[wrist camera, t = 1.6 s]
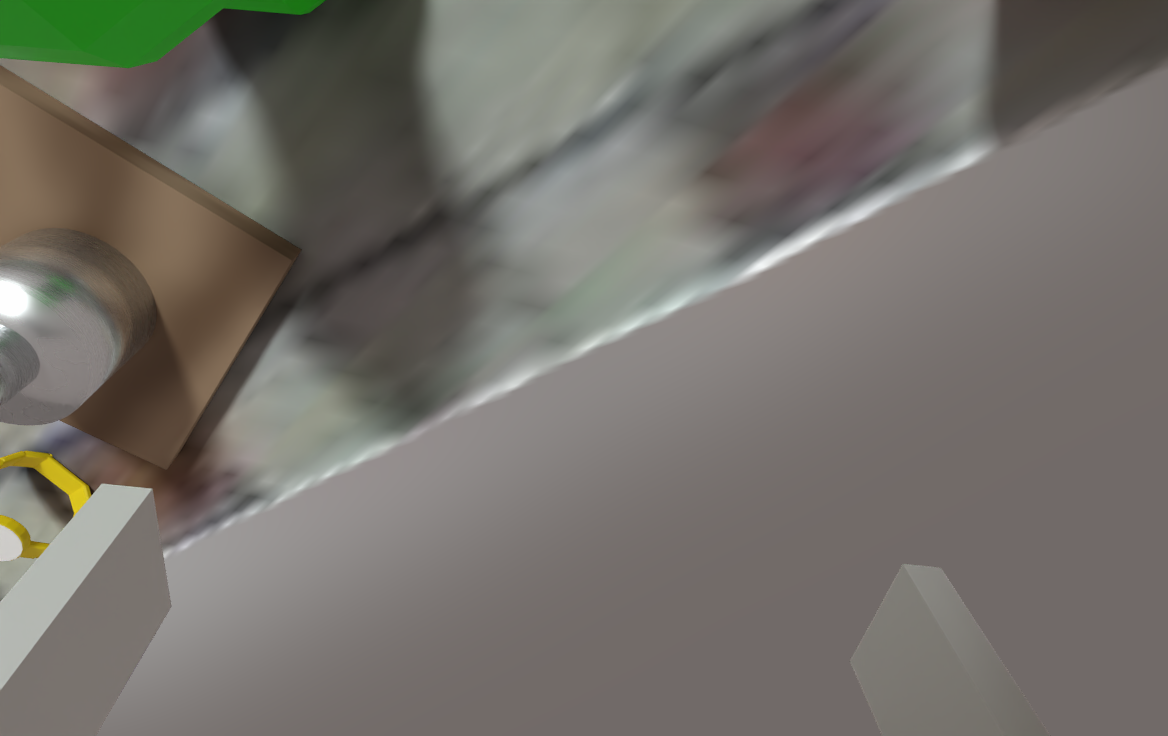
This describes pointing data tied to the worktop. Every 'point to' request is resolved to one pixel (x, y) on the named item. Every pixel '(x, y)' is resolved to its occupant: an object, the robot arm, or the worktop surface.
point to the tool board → (141, 262)
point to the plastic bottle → (113, 27)
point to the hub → (65, 321)
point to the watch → (8, 536)
